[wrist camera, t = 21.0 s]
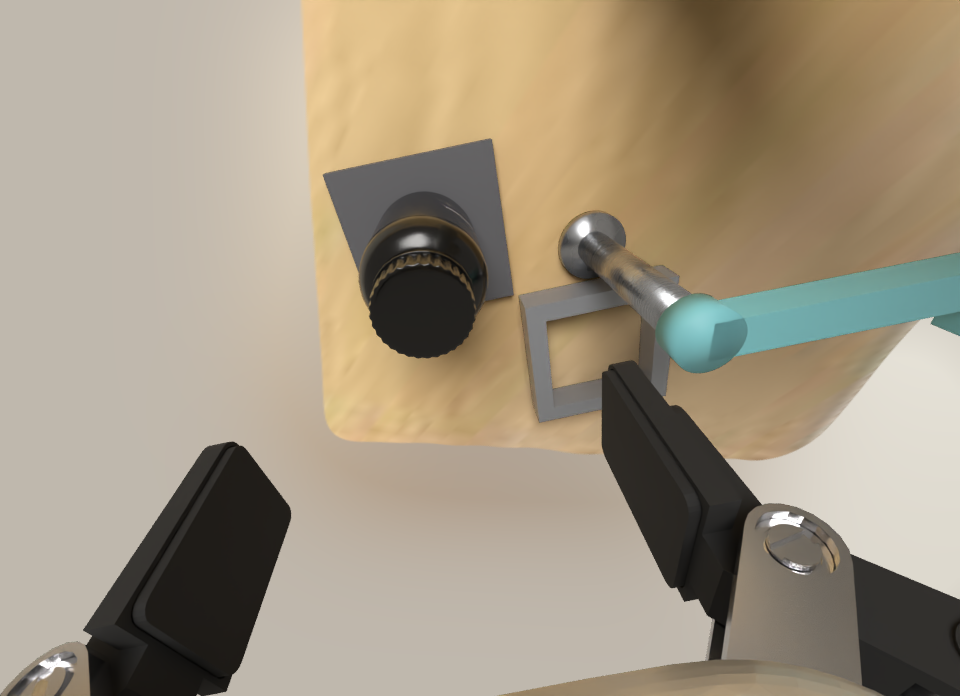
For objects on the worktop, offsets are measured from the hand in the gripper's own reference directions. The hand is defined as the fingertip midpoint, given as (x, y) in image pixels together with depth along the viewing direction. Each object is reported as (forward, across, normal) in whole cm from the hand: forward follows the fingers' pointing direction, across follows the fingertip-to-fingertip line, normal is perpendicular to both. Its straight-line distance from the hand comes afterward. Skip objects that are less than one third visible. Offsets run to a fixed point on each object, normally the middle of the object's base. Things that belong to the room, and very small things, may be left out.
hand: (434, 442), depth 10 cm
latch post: (+21, -11, +4) cm, 24 cm away
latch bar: (+8, -19, +4) cm, 20 cm away
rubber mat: (+21, +1, +1) cm, 21 cm away
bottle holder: (+21, -11, +13) cm, 27 cm away
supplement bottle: (+20, +1, 0) cm, 20 cm away
